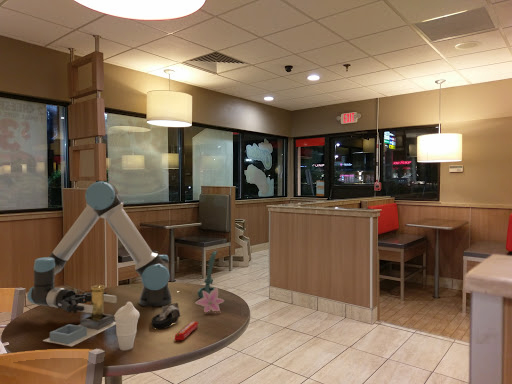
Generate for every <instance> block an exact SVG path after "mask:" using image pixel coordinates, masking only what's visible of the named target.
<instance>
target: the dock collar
mask: <svg viewBox="0 0 512 384" xmlns="http://www.w3.org/2000/svg"><path fill="white" fill-rule="evenodd" d="M77 325H78V324H77ZM77 325H76V324H70V323H69V324H66V325H63V326H61V327H58V328H57V329H55V330H52V331H50V332H49V338H50V341H53V342H58V343H64V344H70V343H72V342H74V341H76V340H78V339H80V338H82V337H85V336H87V327H83V326H77Z"/></svg>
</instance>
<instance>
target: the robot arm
mask: <svg viewBox="0 0 512 384" xmlns="http://www.w3.org/2000/svg"><path fill="white" fill-rule="evenodd" d="M84 195H85V197H84V198H85V201H86V202H85V203H86V204H85V205H86V207H85V208H84V209H83V210H82V212H81V213H80V215H78V218H77V219H76V220H75V221H74V223H73V224H72V225H71V227H70V228H69V230H67V232H66V233H65V235H64V236H63V237H62V238H61V240H60V242H58V244H57V245H56V247H55V248H54V249H53V251H52V252H51V253H50V254H49V256H47V257H46V256H45V257H39V258H36V259H35V260H34V264H33V286H32V287H30V288H29V290H28V292H27V297H26V298H27V301H28V302H30V303H31V304H34V305H37V306H44V307H45V306H46V307H51V308H52V307H54V308H55V309H62V310H63V311H65V312H66V313H69V314H70V313H73V314H77V312H81V313H86V314H87V313H88V314H91V313H93V305H91V304H86V303H87V302H91V301H92V292H82V293H81V294H80V293H76V292H75V290H73V289H68V288H61V287H55V280H56V279H55V276H56V275H57V274H58V273H60V272H61V271H62V270H63V269H64V267H65V265H66V263H67V262H68V261H69V259H70V258H71V257H72V256H73V254H74V253H75V251H76V250H77V249H78V247H79V246H80V245H81V243H82V242H83V240H84V239H85V238H86V237H87V235H88V234H89V232H90V231H91V230H92V228H93V227H94V226H95V224H96V223H97V221H99V220H100V218H101V219H104V220H106V222H107V224H108V225H109V227H110V229H111V230H112V232H114V234H115V236H116V237H117V239H118V240H119V241H120V243H121V244H122V246H123V247H124V249H125V250H126V251H127V253H128V254H129V256H130V257H131V259H132V260H133V262H134V263H135V266H134V270H135V272H136V273H137V274H138V276H139V277H140V280H141V282H142V285H143V286H142V290H141V292H140V296H139V298H138V299H139V300H138V303H139V305H140V306H143V307H154V308H155V307H163V306H166V304H167V305H170V304H171V303H172V294H171V290H170V287H169V279H170V270H169V262H170V260H169V256H168V254H159V253H158V252H153V251H152V249H151V247H150V246H149V245H148V243H147V242H146V240H145V239H144V237H143V236H142V234H141V233H140V231H139V230H138V228H137V227H136V225H135V223H134V222H133V221H132V219H131V218H130V217H129V215H128V213H127V212H126V211H125V209H124V204H125V203H124V201H123V199H122V198H121V197H120V195H119V190H118V189H117V187H116V186H115V185H113V183H111V182H109V181H108V182H107V181H103V180H101V181H95V182H94V183H91V184H90V185H89V186H88V187H87V189H86V190H85V194H84ZM117 302H118V300H117V295H111V294H107V292H105V291H104V303H113V304H117ZM170 302H171V303H170Z"/></svg>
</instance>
